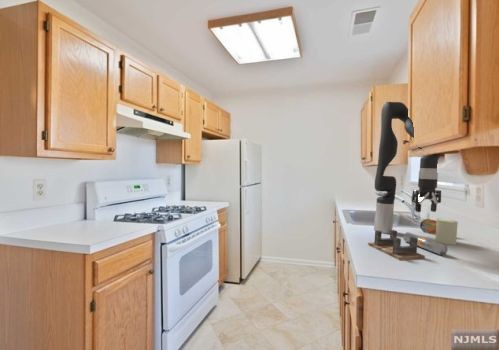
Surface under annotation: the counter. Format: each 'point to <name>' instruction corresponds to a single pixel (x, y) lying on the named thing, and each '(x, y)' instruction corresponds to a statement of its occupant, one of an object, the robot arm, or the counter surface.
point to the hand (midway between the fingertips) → (425, 211)
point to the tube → (427, 244)
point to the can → (446, 231)
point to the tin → (428, 226)
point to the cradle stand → (396, 246)
